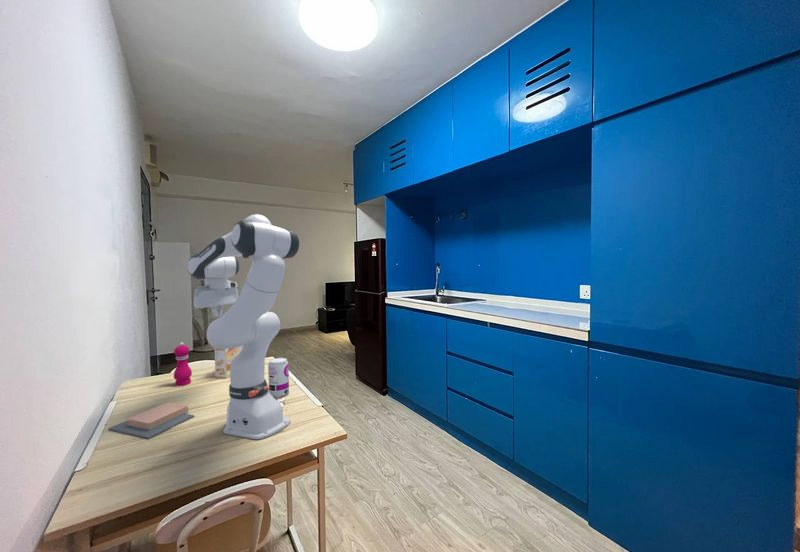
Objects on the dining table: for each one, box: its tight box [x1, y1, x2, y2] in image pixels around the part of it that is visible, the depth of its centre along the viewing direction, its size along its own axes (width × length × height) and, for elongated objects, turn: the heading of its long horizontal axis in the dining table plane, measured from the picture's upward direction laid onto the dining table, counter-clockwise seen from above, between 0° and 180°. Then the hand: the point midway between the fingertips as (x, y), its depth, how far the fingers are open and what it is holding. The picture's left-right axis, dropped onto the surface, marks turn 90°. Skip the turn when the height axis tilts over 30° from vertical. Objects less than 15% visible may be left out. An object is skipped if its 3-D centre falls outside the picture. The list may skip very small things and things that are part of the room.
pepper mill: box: [173, 341, 193, 387], centre depth 153 cm, size 7×7×20 cm
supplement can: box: [267, 357, 290, 398], centre depth 139 cm, size 8×8×15 cm
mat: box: [108, 413, 195, 440], centre depth 115 cm, size 16×20×1 cm
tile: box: [126, 402, 189, 431], centre depth 117 cm, size 2×11×14 cm
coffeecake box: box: [214, 346, 243, 379], centre depth 168 cm, size 15×7×20 cm, turn 168°
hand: (217, 315), depth 142 cm, fingers closed
